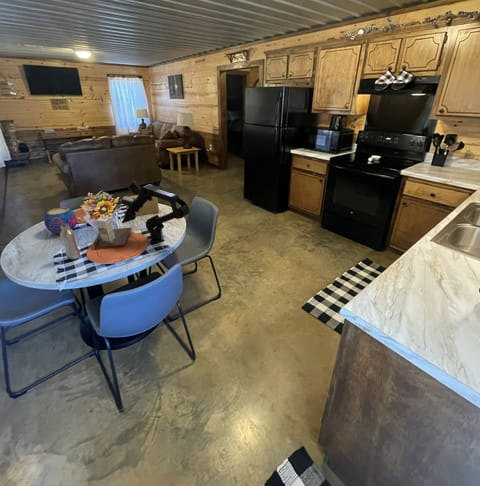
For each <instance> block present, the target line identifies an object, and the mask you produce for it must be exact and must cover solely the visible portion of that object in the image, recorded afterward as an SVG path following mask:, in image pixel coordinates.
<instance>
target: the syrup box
mask: <svg viewBox="0 0 480 486" xmlns="http://www.w3.org/2000/svg"><path fill="white" fill-rule="evenodd" d="M95 221H96V225H97V229H98V235H99V234H100V238H101V242H111V241H112V240H113V239H114V238H115V236H114V232H113V229H114V228H113V223H112V219H111V216H100V217H98V218H97V219H96V220H95Z"/></svg>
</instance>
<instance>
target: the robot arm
mask: <svg viewBox="0 0 480 486" xmlns="http://www.w3.org/2000/svg"><path fill="white" fill-rule="evenodd" d="M127 190H129V192H130V193H131V194H132V195H133V196H136V195H137V196H138V195H139V196H138V197H137V198H135V199H134V200H133V199H131V198H128V197H129V196H123V197H122V199H121V202H120V204H121V205H124V206H126V205H127V206H128V208H129V209H127V210H125V212H124V213H123V214H124V217H123V219H122V221H121V224H125V223H127V222H128V223H129V222H131V221H134V220H135V219H136V218H137V215H136V213H135V212H137V213H138V211H139V210H140V208H142V207H143V205H144V204H145V203H146V202H147V201H148V200H149V201H153V199H152V197H156V198H157V199H159V200H163V201H164V202H168V203H170V206H171V210H172V211H171V212H169V213H166V214H163V215H161V216H159V214H156V215H153V216H152V217H149V218H147V219H146V221H145V228H146V230H147V232H148V233H149V236H150V237H149V238H150V242H153V243H154V242H162V241H163V239H164V237H165V236H164V235H163V229H164V228H165V225H164V224H165V223H166V222H169V221H172V220H174V219H175V220H180V219H181V220H182V218H185V217H186V216H188V215H189V214H190V213H191V210H190V207H189V206H188V204H187V202H186V201H184V200H183V199H182V198H181V197H180V196H179V195H178V194H175V193H171V192H168V191H165V190H162V189H159V188H158V187H157V186H156V185H154V184H152V183H149V184H146V185H144V186H141V185H140V184H139V183H138V182H137V181H136V180H135V181H133V182H132V183H131V184H129V186H127ZM177 204H178V205H180V206H179V207H177Z"/></svg>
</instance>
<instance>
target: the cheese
mask: <svg viewBox="0 0 480 486" xmlns="http://www.w3.org/2000/svg"><path fill="white" fill-rule="evenodd" d="M138 196H139V195H138ZM138 196H137V195H136V196H135V195H130V196H127V197H128V198H131V199H133V200H134V199H135V198H137V197H138ZM152 199H153V201H149V200H148V201H147V202H146V203H145V204H144V205H143V207H142V208H140V210H139V211H138V213H137V212H135V213H136V215H137V216H145V215H150V214H151V215H152V214H158V213H160V208H159V200H158V199H159V198H156V197H152ZM125 209H126V210H127V209H129V208H128V206H127V205H125ZM126 210H125V211H126ZM137 216H136V217H137Z"/></svg>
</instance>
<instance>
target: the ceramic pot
mask: <svg viewBox="0 0 480 486" xmlns="http://www.w3.org/2000/svg"><path fill="white" fill-rule="evenodd" d="M43 219H44V220H43V222H44V226H45V227H46V229H47V230H48V231H49V232H51V234H52V233H53V234H58V235H60V233H61V231H62V230H61V225H63V224H69V227H70V229H71V230H74V229H75V228H76V227H77V226H76V225H77V223H78V218H77V215H76V213H75V210H72V209H71V208H69V207H65V206H64V207H63V206H62V207H55V208H53V209H50V210H48V211H47V212H46V213H45V215H44V218H43Z"/></svg>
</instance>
